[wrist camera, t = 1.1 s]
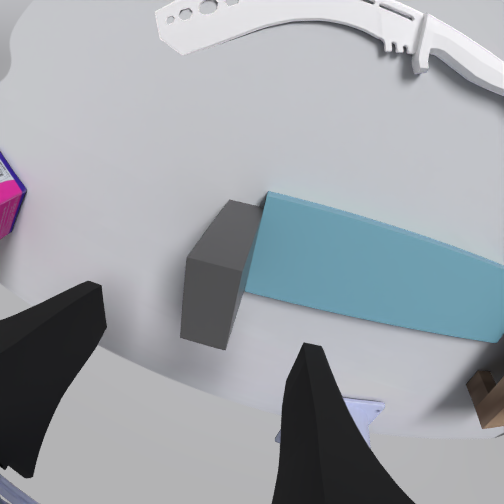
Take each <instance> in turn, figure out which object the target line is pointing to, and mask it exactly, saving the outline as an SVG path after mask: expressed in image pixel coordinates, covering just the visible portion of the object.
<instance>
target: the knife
mask: <svg viewBox="0 0 504 504" xmlns="http://www.w3.org/2000/svg"><path fill="white" fill-rule="evenodd" d="M204 1H206V0H176V1H174V2H172V3H170V4H168V5H166V6H164V7H163V8H161V9H159V10H157V11H155V16H156V21H157V26H158V31H159V37H160V39H161V40H162V41H163V42H165V43H166V44H168V45H169V46H170V47H172V48H173V49H174V50H176V51H177V52H178V53H180V54H181V55H185V54H189V53H192V52H196V51H199V50H203V49H206V48H210V47H213V46H216V45H219V44H221V43H224V42H226V41H229V40H232V39H235V38H237V37H240V36H243V35H245V34H248V33H251V32H254V31H256V30H259V29H262V28H265V27H269V26H273V25H278V24H282V23H287V22H292V21H327V22H334V23H339V24H343V25H347V26H351V27H353V28H356V29H359V30H362V31H364V32H366V33H368V34H370V35H372V36H373V37H375V38H377V39H380V40H382V42H383V43H384V51H385V52H391V51H392V45H391V43H393V44H395V49H396V53H403V52H404V51H403V46H404V47H405V48H406V52H407V54H412V62H411V63H412V67H413V72H414V74H421V73H426V72H427V71H428V69H429V65H428V57H429V54H432V55H435V56H437V57H438V58H439V59H441V60H442V61H443V62H445V63H446V64H447V65H448V66H449V67H451V68H452V69H453V70H455V71H456V72H457V73H459V74H460V75H461V76H463V77H464V78H465V79H466V80H468V81H470V82H472V83H474V84H476V85H478V86H480V87H482V88H485V89H487V90H490V91H492V92H494V93H497V94H499V95H501V96H504V62H503V61H502V60H500V59H499V58H498V57H496V56H495V55H494V54H492V53H491V52H489V51H488V50H487V49H485V48H484V47H482V46H481V45H479V44H478V43H476V42H475V41H473V40H472V39H470V38H469V37H467V36H466V35H464V34H462V33H461V32H459V31H458V30H456V29H454V28H452V27H451V26H449V25H447V24H445V23H444V22H442V21H440V20H438V19H437V18H435V17H434V16H432V15H430V14H428V13H424V14H423V13H421V12H419V11H417V10H415V9H413V8H411V7H409V6H406V5H404V4H402V3H400V2H397V1H395V0H369V1H371V2H374V4H370V3H367V2H364V1H361V0H239V2H238V3H237V4H234V5H231V6H229V5H228V4H227V3H226V2H225V1H226V0H216V1H217V2H218V6H217V9H216V10H215V11H214V12H213V13H211V14H203V13H201V12H200V11H199V10H200V4H202V3H203V2H204ZM379 5H382V6H385V7H387V8H390V9H392V10H394V11H397V12H399V13H401V14H404V15H406V16H408V17H410V18H412V20H413V21H411V20H409V19H407V18H405V17H403V16H400V15H398V14H396V13H393V12H391V11H389V10H386V9H384V8H381V7H380V6H379ZM188 8H190V9H191V10H192V12H193V13H192V15H191V17H190V19H187V20H183V21H182V20H181V18H180V17H179V15H180V13H181V11H182V10H185V9H188ZM170 16H173V17H174V21H173V22H172V23H170V24H168V23H167V22H166V20H167V18H168V17H170Z"/></svg>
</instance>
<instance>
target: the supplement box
mask: <svg viewBox="0 0 504 504" xmlns="http://www.w3.org/2000/svg"><path fill="white" fill-rule="evenodd" d="M26 191H27V189H26V188H25V186H24V185H23V184H22V182H21V181H20V180H19V178H18V177H17V175H16V174H15V172H14V171H13V170H12V168H11V167H10V165H9V164H8V163H7V161H6V160H5V158H4V157H3V155H2V153H1V152H0V239H1V238H3V237H4V236H6V235H7V234H9V233H11V232H12V229H13V226H14V223H15V220H16V217H17V214H18V211H19V208H20V206H21V203H22V200H23V198H24V196H25V193H26Z"/></svg>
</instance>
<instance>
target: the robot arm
mask: <svg viewBox="0 0 504 504" xmlns="http://www.w3.org/2000/svg"><path fill="white" fill-rule="evenodd" d="M106 328H107V325H106V318H105V311H104V303H103V294H102V285H99V284H96V283H94V282H91V281H86V282H84V283H81V284H79V285H77V286H75V287H73V288H71V289H68V290H66V291H64V292H62V293H60V294H58V295H56V296H54V297H52V298H50V299H48V300H46V301H44V302H42V303H40V304H38V305H36V306H33V307H31V308H29V309H27V310H24V311H22V312H20V313H18V314H16V315H13V316H11V317H8V318H6V319H3V320H0V467H1V468H3V469H4V470H6V468H7V466H10V467H11V468H12V469H13V470H15V471H16V472H18V473H19V474H20V475H22V476H23V477H24V478H31V477H33V474H34V469H35V465H36V461H37V457H38V454H39V451H40V448H41V445H42V442H43V439H44V436H45V433H46V431H47V428H48V426H49V423H50V421H51V419H52V417H53V414H54V412H55V410H56V408H57V406H58V404H59V402H60V400H61V398H62V397H63V395H64V393H65V392H66V390H67V388H68V387H69V386H70V384H71V383H72V381H73V380H74V378H75V377H76V375H77V374H78V373H79V371H80V370H81V368H82V367H83V366H84V364H85V363H86V361H87V360H88V358H89V357H90V356H91V354H92V353H93V351H94V350H95V348H96V347H97V345H98V343H99V341H100V339H101V337H102V335H103V333H104V331H105V330H106ZM384 408H385V403H383V402H376V401H366V400H357V399H349V398H343V397H342V395H341V393H340V390H339V388H338V386H337V383H336V381H335V379H334V376H333V374H332V371H331V369H330V366H329V364H328V361H327V358H326V356H325V353H324V350H323V348H322V346H318V345H314V344H309V343H303V345H302V347H301V349H300V352H299V354H298V356H297V358H296V360H295V363H294V365H293V367H292V369H291V371H290V373H289V375H288V378H287V380H286V385H285V391H284V397H283V404H282V418H281V430H280V431H279V433H278V434H277V436H276V437H275V441H276V442H278V443H280V457H279V467H278V474H277V480H276V486H275V490H274V496H273V500H272V504H415V503H414V502H413V501H412V500H411V499H410V498H409V497H408V496H407V495H406V494H405V493H404V492H403V490H402V489H401V488H400V487H399V486H398V485H397V484H396V483H395V481H394V480H393V479H392V478H391V476H390V475H389V474H388V472H387V471H386V470H385V469H384V467H383V466H382V465H381V464H380V462H379V461H378V459H377V458H376V456H375V455H374V454H373V452H372V451H371V447H370V437H369V426H368V425H369V424H370V423H371V422H372V421H373V420H374V419H375V418H376V417H377V416H378V415H379V414H380V413H381V411H382V410H383V409H384ZM0 494H1V495H2V496H3V497H4V498H6V499H7V500H8V501H9V502H11V503H12V504H39V503H38V502H36V501H35V500H33V499H32V498H30V497H29V496H28V495H26V494H25V493H24V492H22V491H21V490H20V489H18V488H17V487H15V486H14V485H13V484H12V483H11V482H9V481H8V480H7V479H6V478H4V477H3V476H2V475H1V474H0ZM0 504H8V503H7V502H5V501H4V500H2V499H1V498H0Z"/></svg>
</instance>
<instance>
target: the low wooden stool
mask: <svg viewBox="0 0 504 504" xmlns="http://www.w3.org/2000/svg"><path fill="white" fill-rule="evenodd" d="M466 386H467V388H468V391H469V393H470V396H471V399H472V401H473V404H474V407H475V409H476V412H477V415H478V418H479V421H480V424H481V427H482V429H486V428H493V427H500V426H504V376H503V378H502V379H501V380H500V381H499V382H498V384H497V385H496V383H495V381H494V378H493V376H492V374H491V372H490V371H479V370H478V371H477V372H476V373H475V375H474V376H473V377H472V378H471V379H470V381H469V382H468V383H467V384H466Z"/></svg>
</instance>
